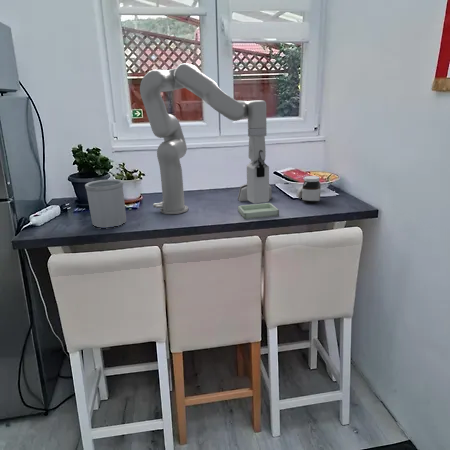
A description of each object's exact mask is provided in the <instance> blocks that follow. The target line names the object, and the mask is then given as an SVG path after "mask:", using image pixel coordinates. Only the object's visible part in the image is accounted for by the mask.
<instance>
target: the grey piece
mask: <svg viewBox="0 0 450 450" xmlns="http://www.w3.org/2000/svg"><path fill="white" fill-rule="evenodd" d="M272 191H273V189H272V185H271V184H270V183H269V200H272V199H273V198H272V197H273V195H272V194H273V193H272ZM237 200H238V201H239V202H250V201H249V200H247V183H244V184H242V185H240V186H239V191H238V195H237Z"/></svg>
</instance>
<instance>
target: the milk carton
mask: <svg viewBox="0 0 450 450" xmlns="http://www.w3.org/2000/svg"><path fill="white" fill-rule="evenodd" d="M258 160H261V159H258ZM264 165H265V176H264V177H257V161H255V162H254V161H251V160H250V161H249V163H248V164H247V165H246V184H247V200H249V201H248V202H250V203H252V204H263V203H270V199H269V184H270V166H269V165H267V164H266V163H265V164H264Z"/></svg>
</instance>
